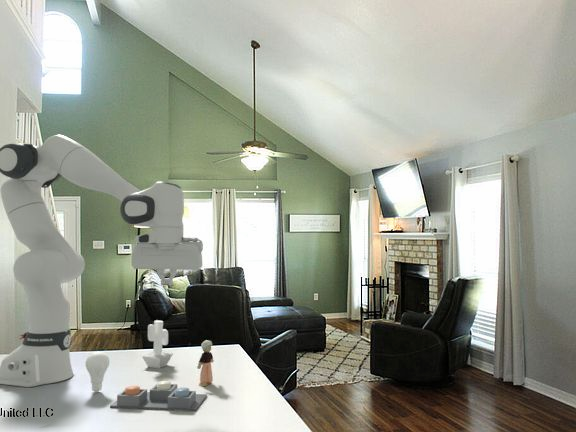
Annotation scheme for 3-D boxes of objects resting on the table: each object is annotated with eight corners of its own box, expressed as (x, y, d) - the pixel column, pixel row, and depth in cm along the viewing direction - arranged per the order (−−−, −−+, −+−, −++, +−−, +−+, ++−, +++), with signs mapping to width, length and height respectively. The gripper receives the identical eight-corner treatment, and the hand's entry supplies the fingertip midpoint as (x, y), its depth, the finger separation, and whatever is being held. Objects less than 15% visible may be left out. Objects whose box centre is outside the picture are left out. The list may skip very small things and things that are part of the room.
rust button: (122, 402, 119) (122, 389, 119) (128, 397, 122) (128, 385, 122) (136, 402, 118) (136, 390, 119) (141, 397, 122) (142, 386, 122)
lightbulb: (84, 390, 131) (85, 350, 131) (108, 387, 133) (109, 348, 134) (84, 396, 125) (85, 355, 126) (109, 394, 128) (110, 353, 128)
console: (110, 407, 118) (110, 395, 118) (128, 393, 129) (128, 382, 129) (195, 411, 116) (196, 398, 116) (206, 396, 127) (207, 385, 127)
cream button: (154, 396, 123) (154, 384, 123) (159, 391, 127) (159, 380, 127) (168, 396, 123) (168, 385, 123) (172, 392, 126) (172, 381, 127)
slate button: (172, 403, 118) (172, 391, 118) (177, 399, 121) (177, 387, 121) (186, 404, 117) (186, 392, 118) (190, 399, 121) (191, 387, 121)
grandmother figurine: (207, 388, 134) (208, 343, 135) (195, 387, 135) (195, 342, 135) (217, 380, 141) (217, 337, 142) (205, 379, 142) (205, 337, 143)
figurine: (174, 363, 160) (175, 319, 161) (158, 370, 151) (159, 323, 152) (156, 361, 162) (157, 317, 163) (139, 368, 153) (140, 322, 154)
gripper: (205, 237, 138) (204, 284, 138) (138, 237, 140) (137, 283, 139) (200, 237, 132) (199, 286, 131) (129, 237, 134) (128, 285, 133)
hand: (166, 285), depth 135 cm, fingers closed
